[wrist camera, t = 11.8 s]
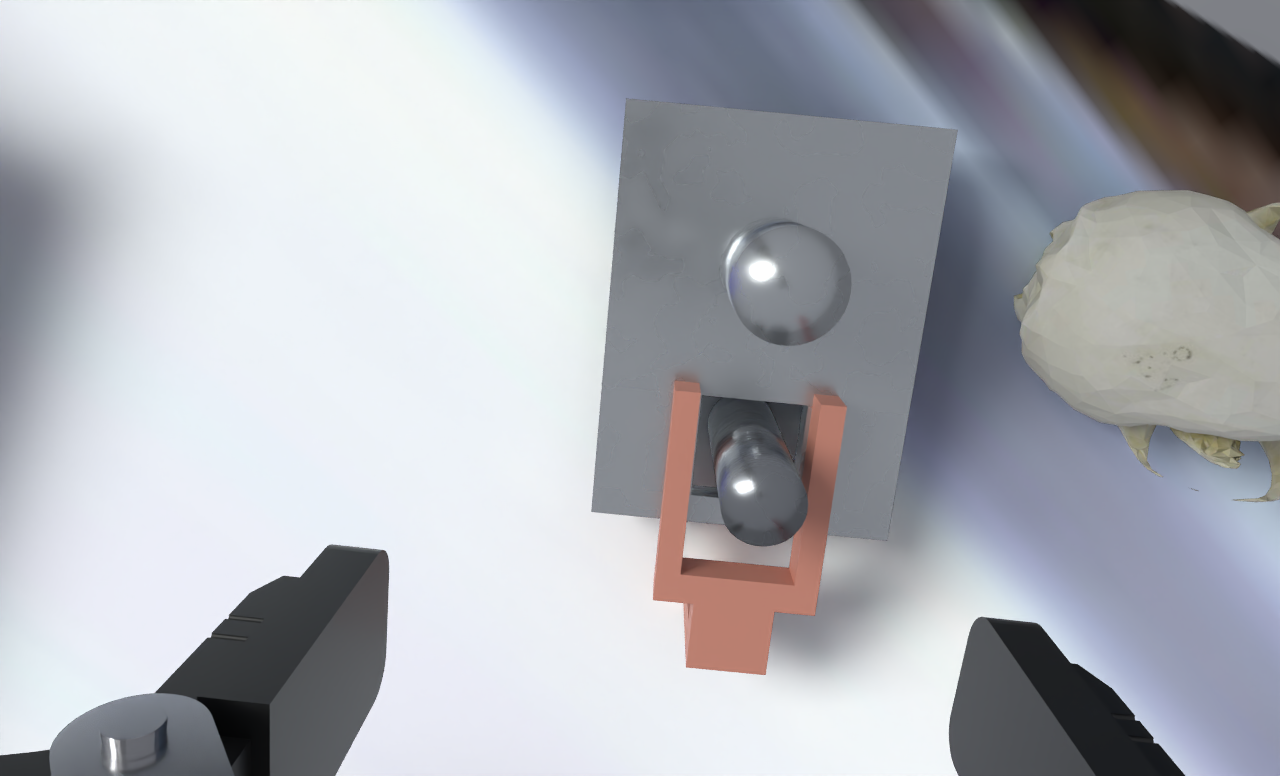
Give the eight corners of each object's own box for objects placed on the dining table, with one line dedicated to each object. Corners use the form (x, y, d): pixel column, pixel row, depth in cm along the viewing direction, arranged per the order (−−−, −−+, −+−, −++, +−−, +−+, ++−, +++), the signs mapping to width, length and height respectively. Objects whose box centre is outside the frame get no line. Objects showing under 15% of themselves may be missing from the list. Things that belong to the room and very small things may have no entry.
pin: (711, 389, 48) (725, 460, 36) (777, 395, 47) (813, 468, 36) (704, 452, 48) (715, 541, 37) (769, 458, 48) (801, 550, 37)
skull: (1334, 555, 48) (1506, 638, 38) (934, 372, 47) (1005, 408, 37) (1480, 322, 46) (1704, 345, 36) (1064, 123, 45) (1176, 91, 35)
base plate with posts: (630, 105, 44) (618, 84, 33) (928, 133, 44) (1012, 121, 33) (598, 481, 49) (578, 567, 38) (867, 507, 49) (923, 601, 38)
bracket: (673, 361, 47) (675, 390, 41) (822, 375, 47) (846, 407, 41) (649, 602, 51) (646, 663, 44) (787, 615, 51) (805, 678, 44)
